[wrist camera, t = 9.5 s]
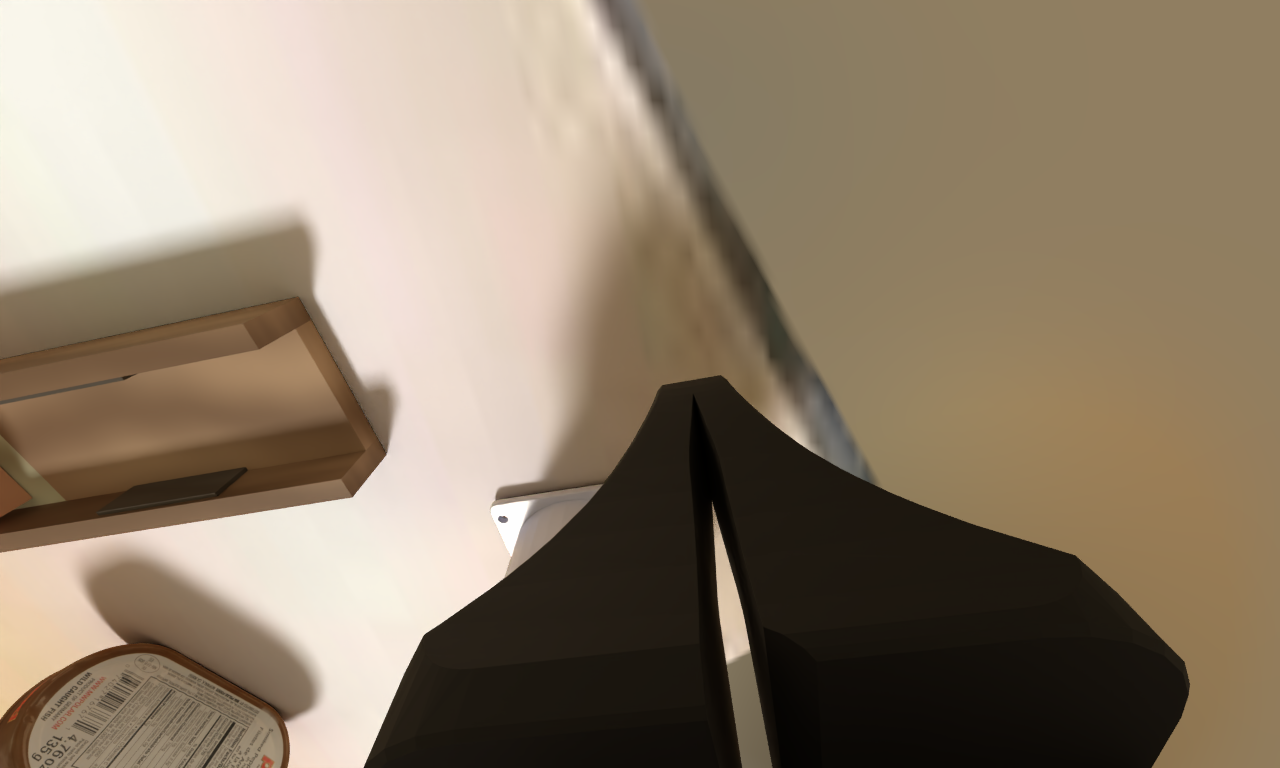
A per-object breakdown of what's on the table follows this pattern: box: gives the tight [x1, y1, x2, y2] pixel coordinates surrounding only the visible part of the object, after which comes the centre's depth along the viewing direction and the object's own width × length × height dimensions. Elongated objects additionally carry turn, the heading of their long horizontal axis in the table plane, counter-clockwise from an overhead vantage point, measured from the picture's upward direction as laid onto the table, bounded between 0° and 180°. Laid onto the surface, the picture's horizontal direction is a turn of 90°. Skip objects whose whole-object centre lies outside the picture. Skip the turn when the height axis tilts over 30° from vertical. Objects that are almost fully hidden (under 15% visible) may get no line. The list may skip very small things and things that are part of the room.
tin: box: [0, 643, 290, 768], centre depth 29 cm, size 15×3×8 cm, turn 34°
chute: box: [0, 297, 386, 553], centre depth 21 cm, size 8×23×3 cm, turn 102°
